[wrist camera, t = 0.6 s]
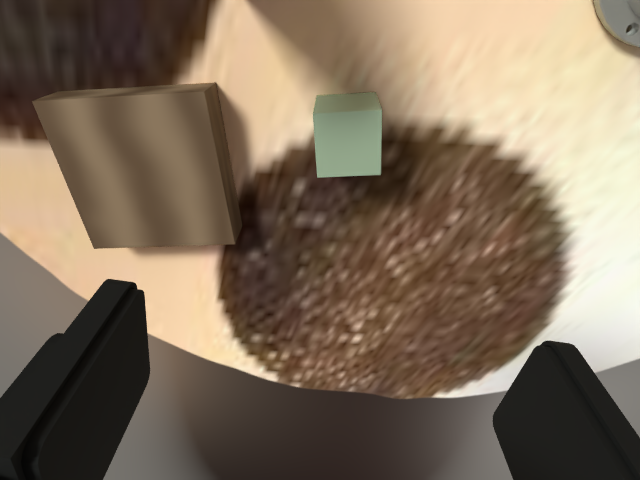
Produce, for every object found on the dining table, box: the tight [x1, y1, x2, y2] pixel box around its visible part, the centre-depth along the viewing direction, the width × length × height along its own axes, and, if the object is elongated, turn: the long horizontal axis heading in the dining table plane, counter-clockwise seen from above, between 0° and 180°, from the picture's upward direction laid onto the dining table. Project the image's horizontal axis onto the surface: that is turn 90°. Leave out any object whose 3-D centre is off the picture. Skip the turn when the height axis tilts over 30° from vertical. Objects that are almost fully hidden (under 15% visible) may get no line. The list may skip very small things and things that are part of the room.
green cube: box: [313, 92, 382, 177], centre depth 33 cm, size 5×5×6 cm
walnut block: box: [32, 83, 242, 249], centre depth 37 cm, size 14×14×4 cm
